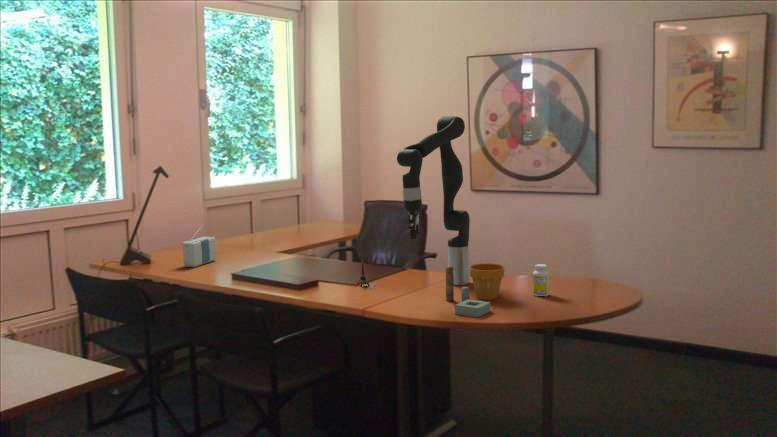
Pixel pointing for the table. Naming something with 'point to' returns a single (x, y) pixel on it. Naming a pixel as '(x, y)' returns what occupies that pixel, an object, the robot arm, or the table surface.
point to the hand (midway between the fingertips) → (414, 236)
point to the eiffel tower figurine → (363, 279)
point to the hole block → (472, 308)
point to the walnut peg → (449, 284)
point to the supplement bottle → (541, 280)
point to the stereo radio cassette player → (199, 251)
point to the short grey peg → (465, 293)
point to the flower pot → (487, 280)
